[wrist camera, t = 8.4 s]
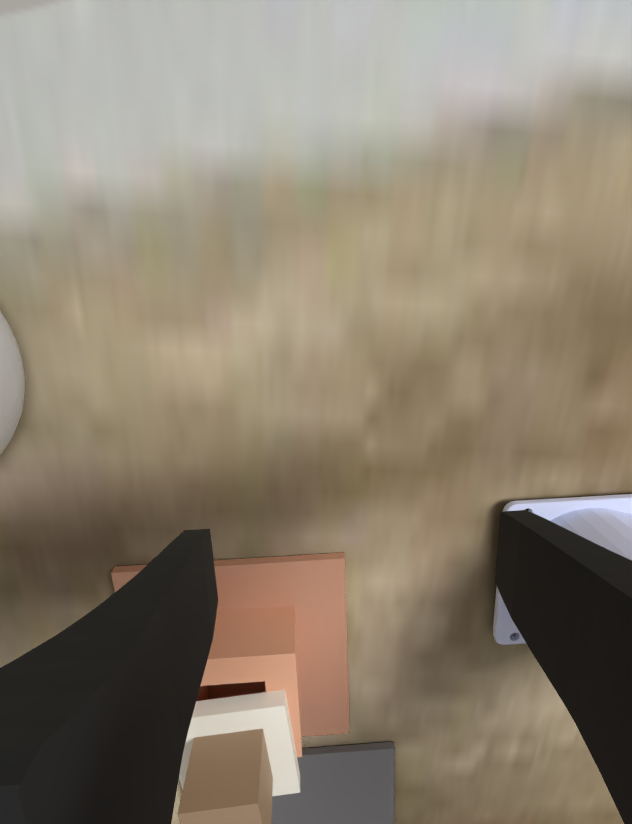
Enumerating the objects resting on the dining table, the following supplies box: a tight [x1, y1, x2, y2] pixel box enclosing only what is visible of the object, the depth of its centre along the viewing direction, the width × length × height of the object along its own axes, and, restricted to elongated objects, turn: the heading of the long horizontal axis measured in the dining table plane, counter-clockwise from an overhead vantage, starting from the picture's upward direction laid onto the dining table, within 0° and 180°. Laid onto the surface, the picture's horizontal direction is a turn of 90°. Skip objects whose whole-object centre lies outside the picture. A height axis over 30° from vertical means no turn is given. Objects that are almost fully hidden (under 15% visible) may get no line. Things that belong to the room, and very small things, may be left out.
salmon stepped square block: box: [111, 552, 349, 757], centre depth 23 cm, size 11×11×4 cm
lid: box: [178, 690, 300, 824], centre depth 20 cm, size 5×5×4 cm
